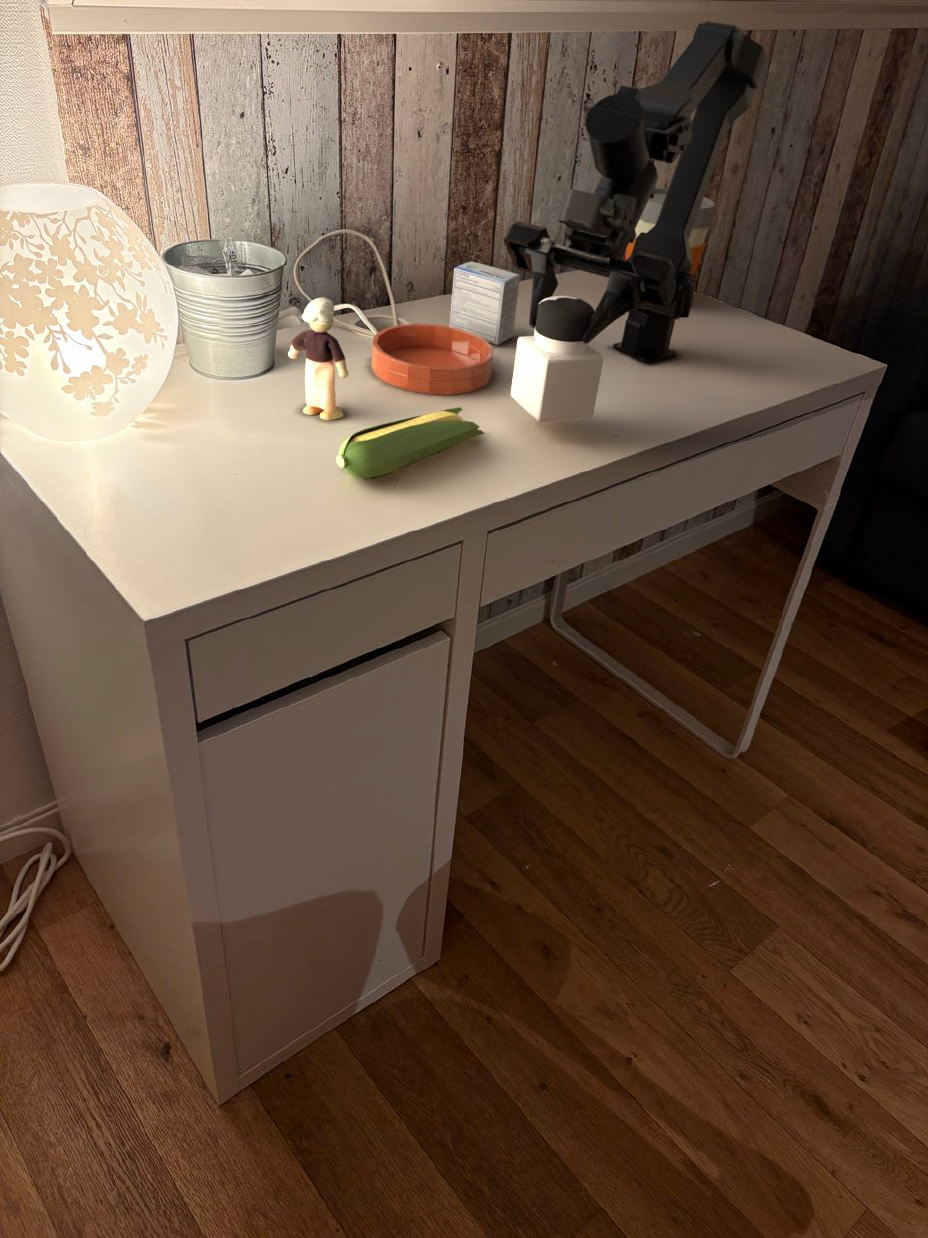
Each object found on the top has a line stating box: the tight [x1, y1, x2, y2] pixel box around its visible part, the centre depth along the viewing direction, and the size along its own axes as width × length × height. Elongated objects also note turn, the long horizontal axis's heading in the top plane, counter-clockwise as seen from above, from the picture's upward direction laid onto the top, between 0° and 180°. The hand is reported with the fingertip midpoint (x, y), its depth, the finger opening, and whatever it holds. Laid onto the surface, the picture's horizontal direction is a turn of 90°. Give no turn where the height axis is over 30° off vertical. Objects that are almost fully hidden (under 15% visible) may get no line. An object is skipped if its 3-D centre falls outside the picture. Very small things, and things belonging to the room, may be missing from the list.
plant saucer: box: [370, 323, 494, 395], centre depth 120 cm, size 15×15×3 cm
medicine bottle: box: [510, 295, 604, 423], centre depth 106 cm, size 7×7×12 cm
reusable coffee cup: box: [625, 187, 716, 303], centre depth 149 cm, size 13×13×15 cm
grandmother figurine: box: [287, 296, 349, 421], centre depth 104 cm, size 8×4×13 cm, turn 71°
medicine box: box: [448, 261, 521, 346], centre depth 130 cm, size 8×4×9 cm, turn 58°
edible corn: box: [335, 406, 485, 480], centre depth 99 cm, size 5×20×5 cm, turn 135°
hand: (557, 333), depth 103 cm, fingers closed on medicine bottle, 6 cm apart
